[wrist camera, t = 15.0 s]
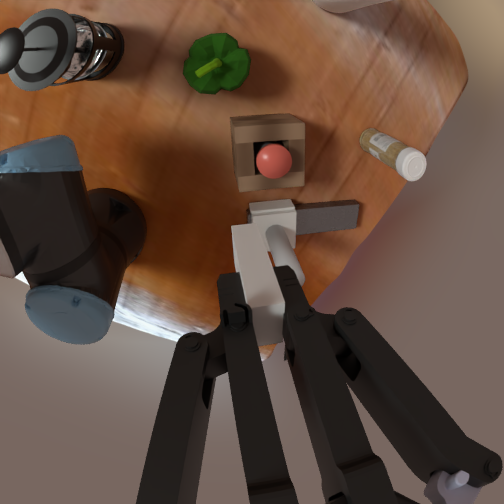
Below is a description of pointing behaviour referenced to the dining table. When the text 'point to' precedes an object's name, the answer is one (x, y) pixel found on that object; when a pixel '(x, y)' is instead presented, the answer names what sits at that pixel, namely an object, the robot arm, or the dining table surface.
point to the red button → (272, 159)
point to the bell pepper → (216, 64)
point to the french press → (58, 50)
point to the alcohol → (345, 4)
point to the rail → (324, 216)
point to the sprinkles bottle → (394, 154)
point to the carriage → (278, 231)
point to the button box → (267, 129)
